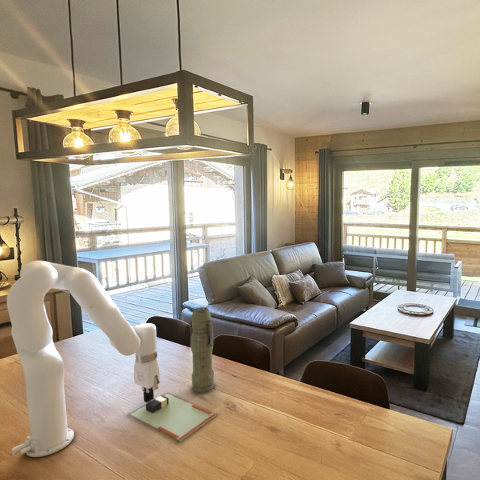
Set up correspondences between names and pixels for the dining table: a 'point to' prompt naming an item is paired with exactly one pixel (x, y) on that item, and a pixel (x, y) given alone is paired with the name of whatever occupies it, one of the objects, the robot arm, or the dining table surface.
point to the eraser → (157, 404)
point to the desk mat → (176, 417)
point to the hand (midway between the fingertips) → (148, 400)
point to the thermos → (202, 349)
